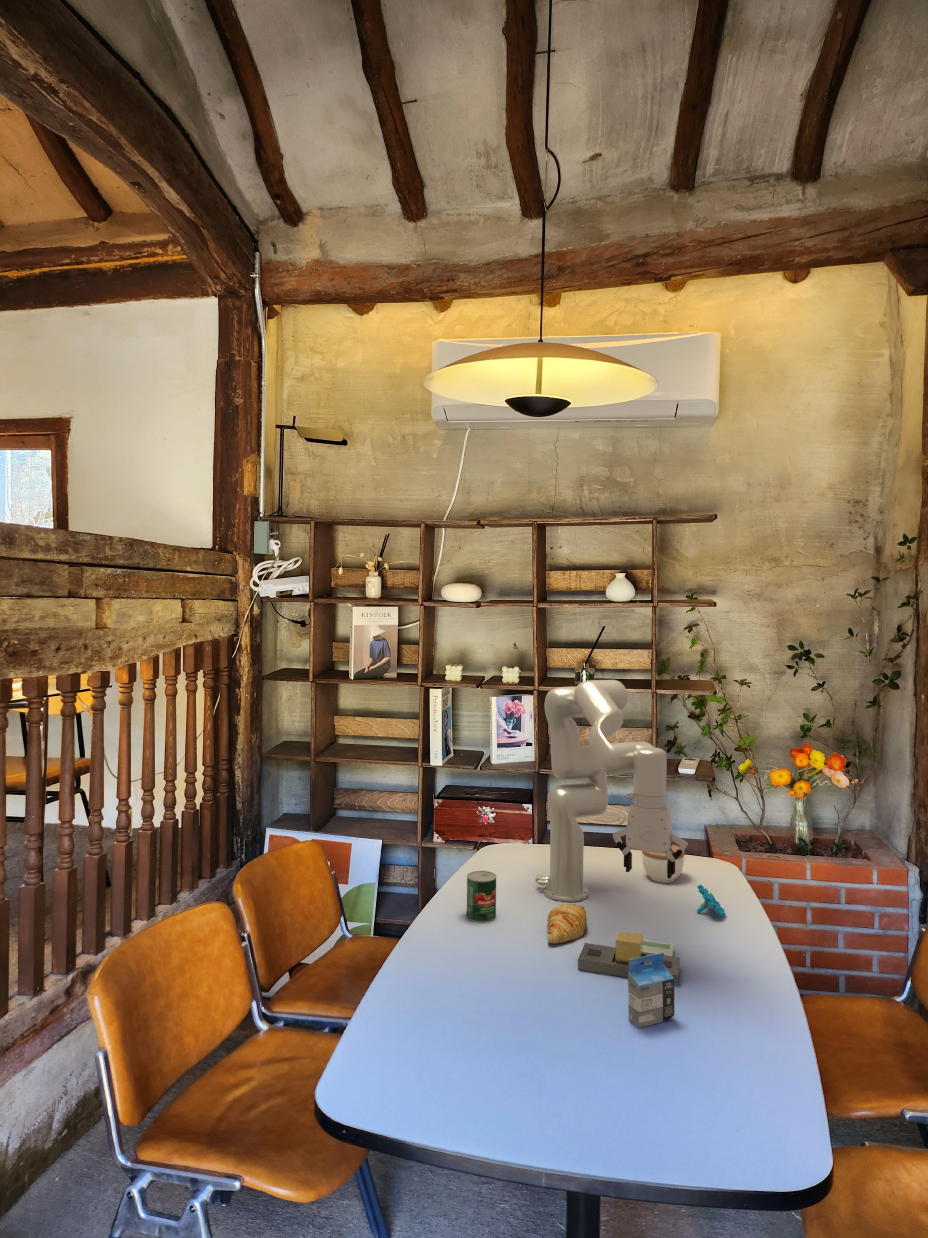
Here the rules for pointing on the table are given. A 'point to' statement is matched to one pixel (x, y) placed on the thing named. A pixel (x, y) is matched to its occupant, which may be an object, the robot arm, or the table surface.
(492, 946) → the table surface
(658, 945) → the tray
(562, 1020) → the table surface
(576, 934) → the croissant
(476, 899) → the canned tomato
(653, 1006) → the label tape box
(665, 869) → the lidded bowl
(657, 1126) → the table surface
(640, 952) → the wooden block
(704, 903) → the gear
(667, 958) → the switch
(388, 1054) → the table surface
